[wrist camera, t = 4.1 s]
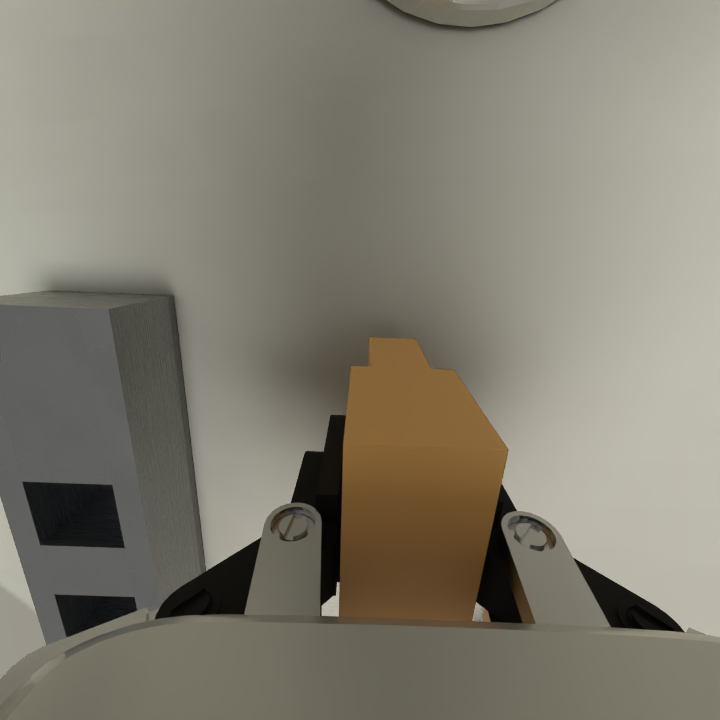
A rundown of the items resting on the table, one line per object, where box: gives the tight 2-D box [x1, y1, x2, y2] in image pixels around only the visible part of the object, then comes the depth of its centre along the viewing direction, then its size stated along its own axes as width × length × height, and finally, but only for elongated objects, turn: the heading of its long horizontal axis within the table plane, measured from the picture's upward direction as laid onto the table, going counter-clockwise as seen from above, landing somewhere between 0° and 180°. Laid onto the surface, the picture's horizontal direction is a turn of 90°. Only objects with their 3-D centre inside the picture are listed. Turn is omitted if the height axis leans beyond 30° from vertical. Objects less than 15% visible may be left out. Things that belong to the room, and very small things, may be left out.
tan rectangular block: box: [339, 337, 508, 621], centre depth 11 cm, size 7×3×8 cm, turn 178°
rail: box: [0, 291, 206, 645], centre depth 16 cm, size 22×5×4 cm, turn 178°
